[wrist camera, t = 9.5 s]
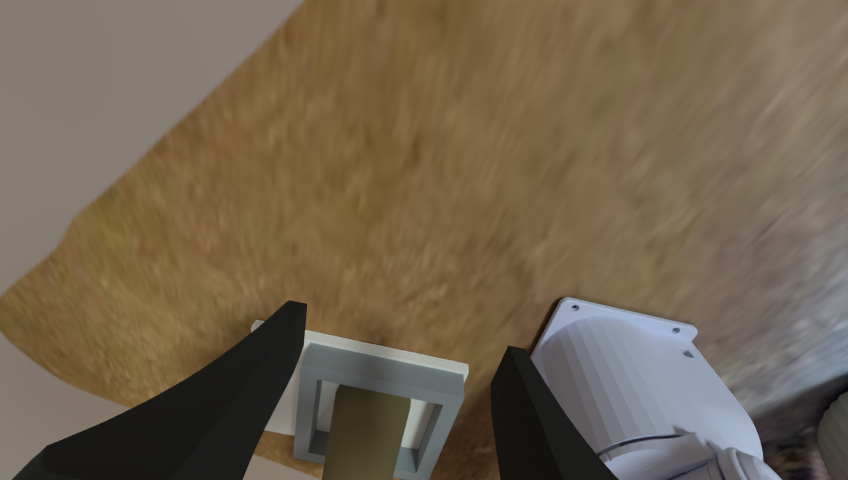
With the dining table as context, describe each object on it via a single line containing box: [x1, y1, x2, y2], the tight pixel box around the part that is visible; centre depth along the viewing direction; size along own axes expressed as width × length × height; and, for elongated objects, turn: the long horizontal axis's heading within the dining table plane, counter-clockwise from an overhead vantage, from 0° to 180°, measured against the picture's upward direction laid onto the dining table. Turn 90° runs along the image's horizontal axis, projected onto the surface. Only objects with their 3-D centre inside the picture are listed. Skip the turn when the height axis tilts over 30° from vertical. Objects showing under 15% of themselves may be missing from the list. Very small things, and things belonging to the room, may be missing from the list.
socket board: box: [251, 320, 469, 480], centre depth 29 cm, size 16×12×3 cm
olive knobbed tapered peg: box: [322, 384, 411, 480], centre depth 25 cm, size 6×6×11 cm
